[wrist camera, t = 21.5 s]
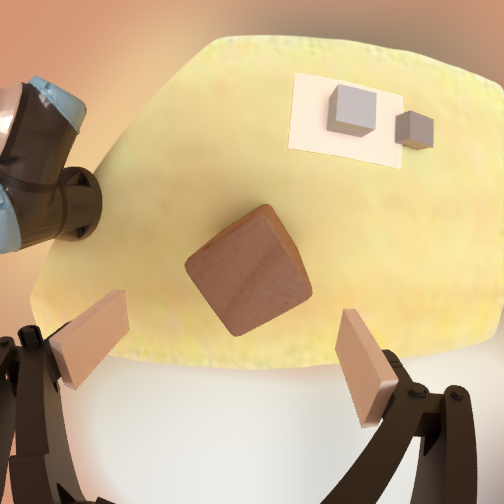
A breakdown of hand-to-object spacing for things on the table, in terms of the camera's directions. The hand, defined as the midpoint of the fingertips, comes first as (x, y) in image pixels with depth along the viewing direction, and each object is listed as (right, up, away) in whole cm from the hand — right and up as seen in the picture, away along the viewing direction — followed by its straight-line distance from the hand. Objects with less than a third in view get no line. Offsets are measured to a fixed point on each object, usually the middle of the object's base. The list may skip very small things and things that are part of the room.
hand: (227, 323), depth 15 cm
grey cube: (+29, +25, +24) cm, 45 cm away
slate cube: (+17, +26, +24) cm, 40 cm away
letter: (+18, +26, +25) cm, 40 cm away
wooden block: (+2, +6, +31) cm, 31 cm away
